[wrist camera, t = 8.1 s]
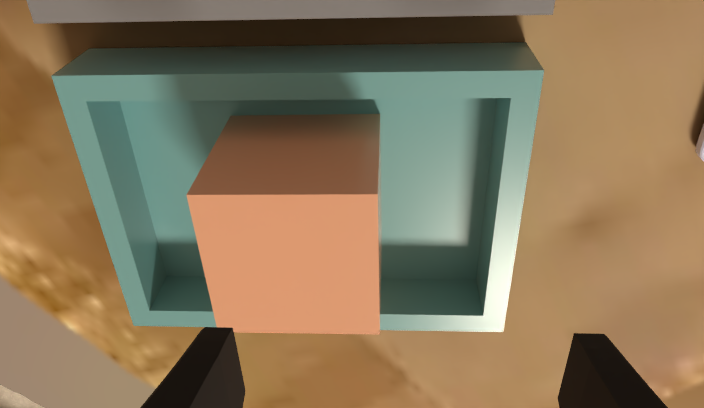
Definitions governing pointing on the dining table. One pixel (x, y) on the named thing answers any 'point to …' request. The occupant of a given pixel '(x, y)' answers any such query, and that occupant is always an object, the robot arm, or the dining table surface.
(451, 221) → the teal bin
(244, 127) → the terracotta block
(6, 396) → the condiment
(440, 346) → the dining table surface
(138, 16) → the grey bin
